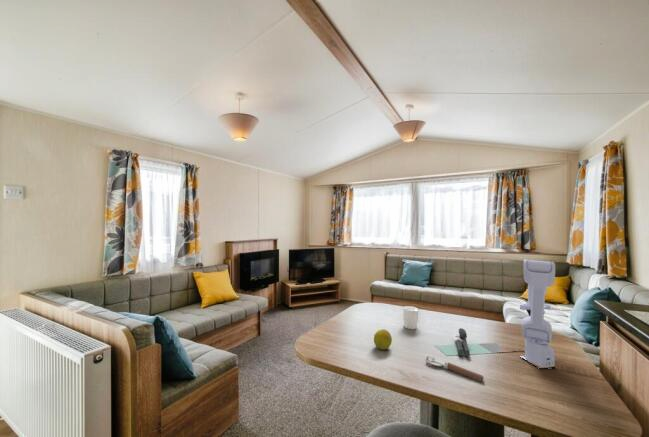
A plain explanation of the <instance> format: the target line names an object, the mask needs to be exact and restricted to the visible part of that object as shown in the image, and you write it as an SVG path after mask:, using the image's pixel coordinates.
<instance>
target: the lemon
mask: <svg viewBox="0 0 649 437" xmlns="http://www.w3.org/2000/svg"><path fill="white" fill-rule="evenodd" d="M392 342H393V337H392V334H391V333H390V331H389V330H387V329H384V328H383V329H378V330H377V331H376V332H375V333H374V336H373V343H374V345H375V347H377V348H378V349H379V350H382V351H383V350H385V351H386V350H387V349H389V348H390V347H391V345H392Z"/></svg>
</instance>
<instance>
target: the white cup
mask: <svg viewBox="0 0 649 437" xmlns="http://www.w3.org/2000/svg"><path fill="white" fill-rule="evenodd" d="M402 311H403V312H402V313H403V314H402V315H403V326H404V327H405V328H406V329H409V330H417V328H418V321H419V320H418V319H419V308H418V307H415V306H411V305H409V306H408V305H406V306H405V305H404V306H403V308H402Z"/></svg>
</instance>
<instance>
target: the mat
mask: <svg viewBox="0 0 649 437" xmlns="http://www.w3.org/2000/svg"><path fill="white" fill-rule="evenodd" d="M496 343H497V342H488V343H487V342H486V343H483V342H482V343H467V345H468V348H469V352H470V355H482V354H483V355H484V354H486V355H487V354H500V353H499V352H500V350H499V345H498V344H496ZM461 345H462V343H461ZM435 348H437V349H438V350H439V351H440V352H441V353H443V354H444V355H445V356H449V357H450V356H460V355H459V354H458V351H457V347H456V344H446V345H440V344H439V345H435ZM462 349H463V347H462ZM498 351H499V352H498ZM497 352H498V353H497ZM462 356H465V355H464V351H463V355H462Z"/></svg>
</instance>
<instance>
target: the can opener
mask: <svg viewBox="0 0 649 437" xmlns="http://www.w3.org/2000/svg"><path fill="white" fill-rule="evenodd" d="M458 333H459V334H454V335H453V338H454V342H455V345H456V347H457V351H458V354H459V355H458V356H460V357H462V356H465V357H466V358H469V357H470V355H471V354H470V352H469V348H468V345H467V344H468V343H467V342H468V341H467V338H468V335H467V331H466V329H465V328H459V329H458ZM461 344H462V345H461ZM462 347H463V349H462ZM463 351H464V355H463Z"/></svg>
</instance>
